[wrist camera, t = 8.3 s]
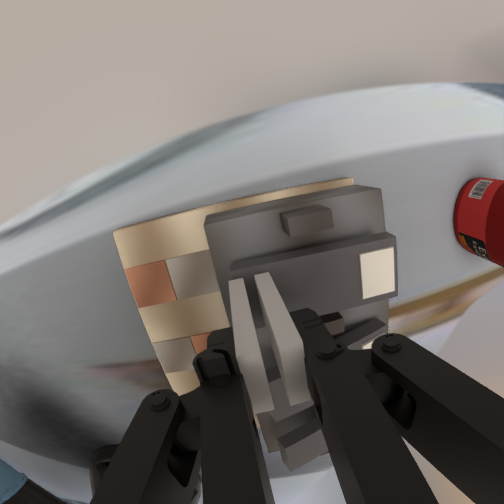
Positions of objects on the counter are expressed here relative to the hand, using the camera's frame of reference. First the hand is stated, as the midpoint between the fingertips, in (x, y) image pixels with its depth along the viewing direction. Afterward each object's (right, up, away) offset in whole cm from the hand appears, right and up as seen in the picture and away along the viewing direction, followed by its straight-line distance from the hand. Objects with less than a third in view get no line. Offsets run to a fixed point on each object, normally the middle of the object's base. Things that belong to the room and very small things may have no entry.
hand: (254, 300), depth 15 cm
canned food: (+23, +7, +9) cm, 26 cm away
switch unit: (+1, -4, +9) cm, 10 cm away
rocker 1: (+3, +1, +1) cm, 4 cm away
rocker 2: (+6, -11, +5) cm, 14 cm away
